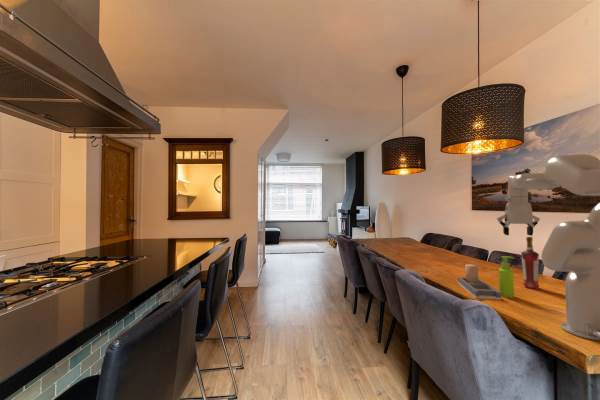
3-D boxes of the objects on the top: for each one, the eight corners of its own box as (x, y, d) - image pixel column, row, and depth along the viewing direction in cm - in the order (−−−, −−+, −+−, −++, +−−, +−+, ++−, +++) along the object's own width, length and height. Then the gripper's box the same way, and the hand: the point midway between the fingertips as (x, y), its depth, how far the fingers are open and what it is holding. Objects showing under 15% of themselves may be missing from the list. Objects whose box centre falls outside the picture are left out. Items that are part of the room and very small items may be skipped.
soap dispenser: (519, 298, 130) (517, 257, 131) (503, 297, 132) (501, 257, 132) (512, 294, 136) (510, 255, 136) (496, 293, 137) (495, 255, 138)
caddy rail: (501, 299, 129) (500, 275, 129) (475, 298, 131) (474, 274, 131) (478, 284, 154) (478, 263, 154) (457, 283, 156) (457, 262, 157)
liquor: (523, 284, 151) (521, 235, 152) (540, 287, 146) (539, 236, 146) (521, 287, 146) (519, 237, 147) (539, 290, 141) (537, 238, 141)
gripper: (501, 200, 127) (501, 236, 127) (544, 200, 123) (544, 236, 123) (493, 200, 134) (494, 233, 135) (534, 199, 130) (534, 234, 130)
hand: (517, 235), depth 129 cm, fingers open, 9 cm apart
